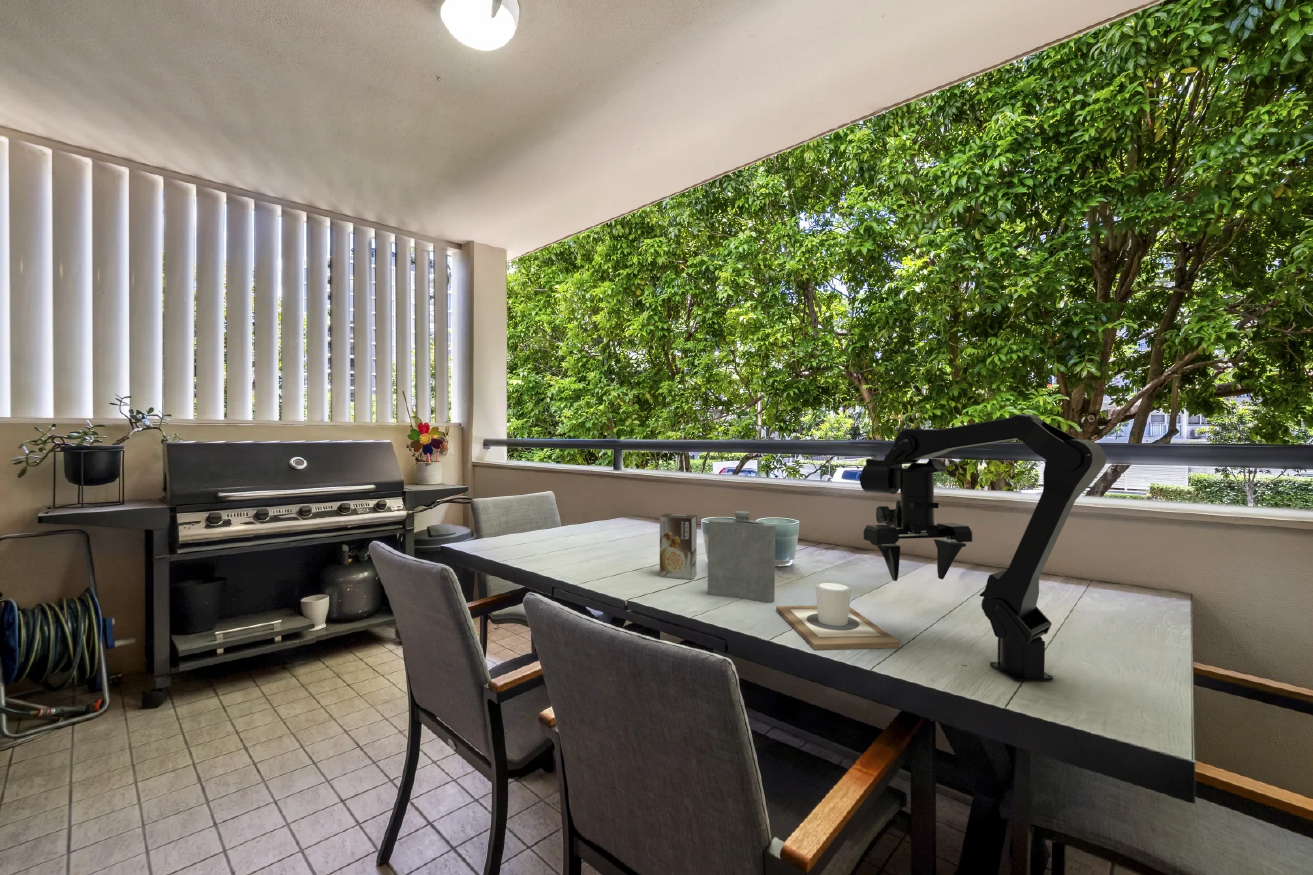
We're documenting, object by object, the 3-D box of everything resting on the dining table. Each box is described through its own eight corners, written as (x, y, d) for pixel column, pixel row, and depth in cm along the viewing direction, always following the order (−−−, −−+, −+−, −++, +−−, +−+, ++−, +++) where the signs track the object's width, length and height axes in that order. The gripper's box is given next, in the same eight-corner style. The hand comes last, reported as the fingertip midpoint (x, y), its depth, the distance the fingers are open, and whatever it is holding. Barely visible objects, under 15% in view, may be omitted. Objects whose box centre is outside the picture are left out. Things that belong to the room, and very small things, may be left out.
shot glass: (853, 628, 110) (854, 591, 109) (816, 625, 111) (817, 589, 111) (848, 616, 116) (849, 582, 116) (813, 614, 118) (814, 580, 117)
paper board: (899, 647, 103) (900, 640, 103) (814, 649, 102) (814, 642, 102) (847, 609, 125) (847, 603, 125) (776, 610, 124) (776, 604, 124)
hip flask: (705, 594, 135) (706, 510, 135) (711, 590, 139) (712, 508, 139) (772, 603, 129) (774, 515, 129) (776, 598, 133) (777, 512, 132)
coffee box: (697, 574, 154) (698, 514, 154) (692, 579, 148) (692, 518, 148) (665, 571, 157) (665, 513, 157) (658, 576, 151) (659, 516, 151)
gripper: (937, 491, 116) (938, 568, 116) (849, 493, 114) (850, 571, 113) (974, 496, 105) (975, 581, 105) (878, 498, 103) (879, 585, 102)
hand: (917, 579), depth 107 cm, fingers open, 9 cm apart
